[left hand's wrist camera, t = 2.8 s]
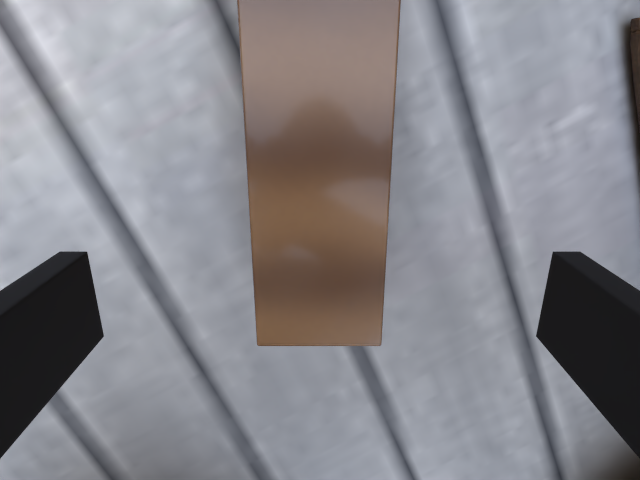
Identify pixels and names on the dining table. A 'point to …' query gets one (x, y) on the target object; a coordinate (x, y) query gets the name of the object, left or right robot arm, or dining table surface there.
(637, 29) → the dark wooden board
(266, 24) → the bar
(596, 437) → the dining table surface
